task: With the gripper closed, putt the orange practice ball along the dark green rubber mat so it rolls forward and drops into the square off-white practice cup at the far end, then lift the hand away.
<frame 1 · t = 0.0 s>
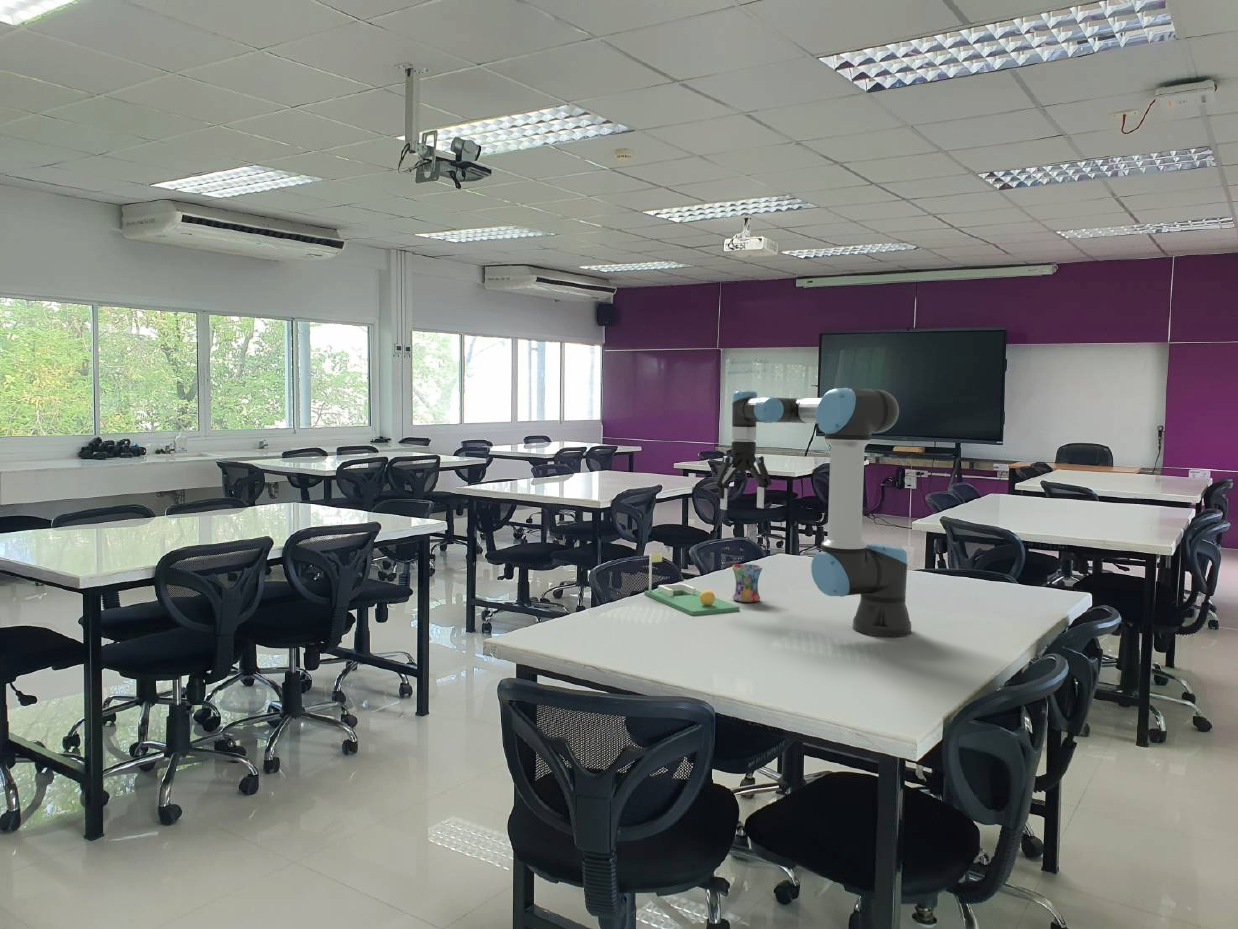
hand: (742, 508, 271), 28 cm above the table, fingers open, 13 cm apart
green: (690, 602, 264), on the table
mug: (748, 600, 269), on the table
ball: (707, 598, 254), point 3 cm above the table, touching green
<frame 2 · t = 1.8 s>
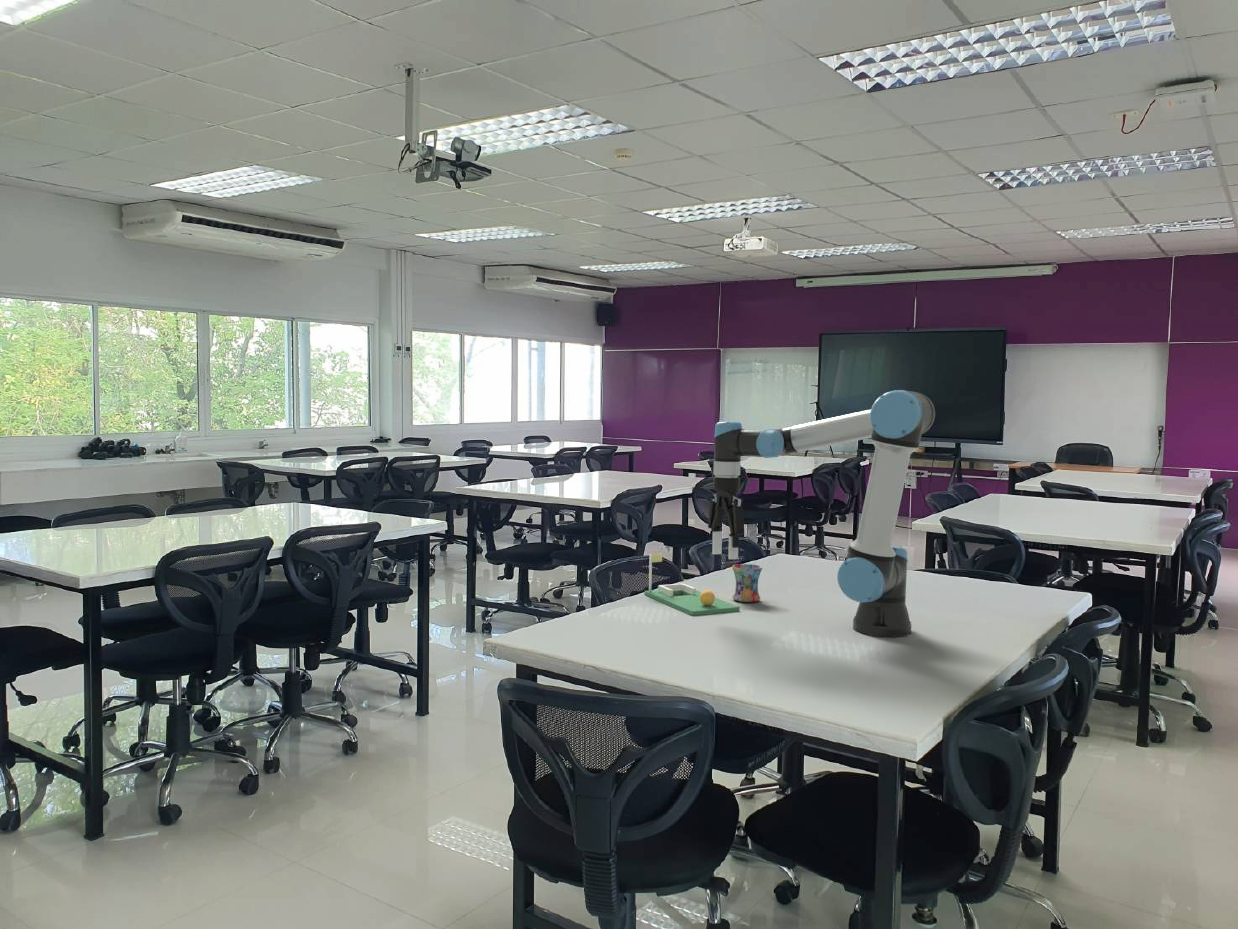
hand: (724, 556, 245), 17 cm above the table, fingers open, 8 cm apart
nothing on the table moved.
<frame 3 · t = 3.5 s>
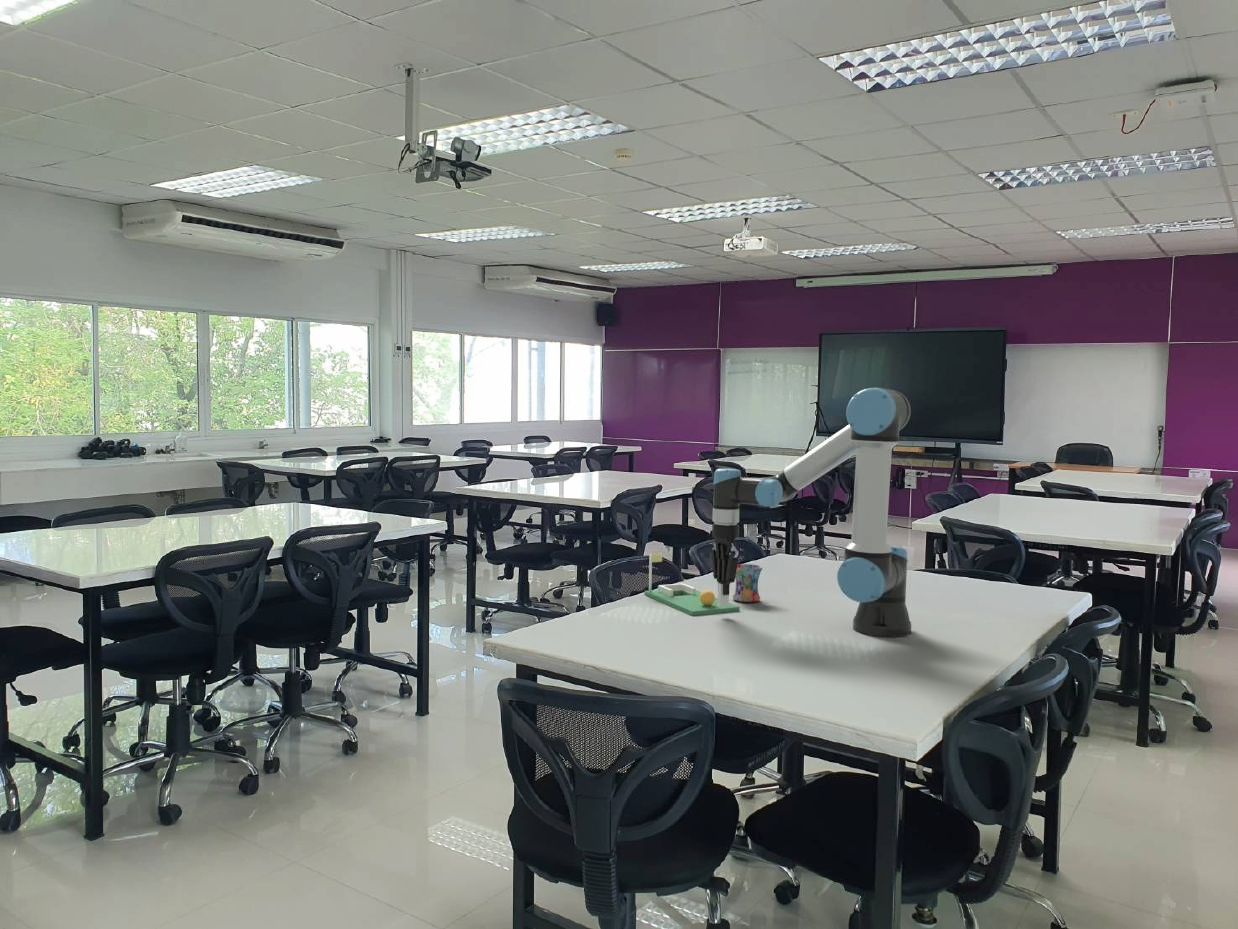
hand: (723, 605, 246), 3 cm above the table, fingers closed
nothing on the table moved.
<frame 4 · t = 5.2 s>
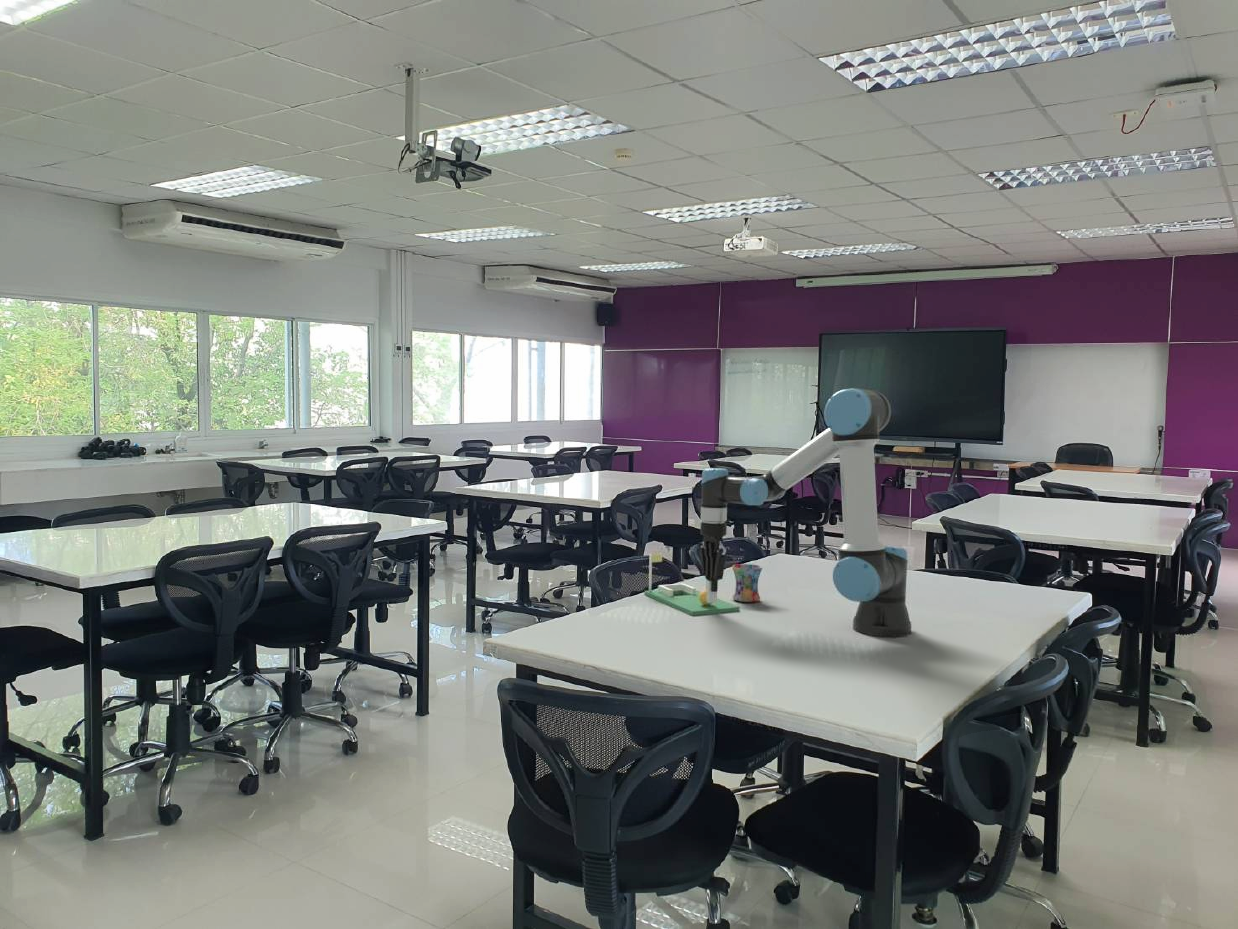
hand: (711, 602, 252), 3 cm above the table, fingers closed
ball: (706, 597, 255), point 3 cm above the table, tilted 7°, touching green
everything else where it was.
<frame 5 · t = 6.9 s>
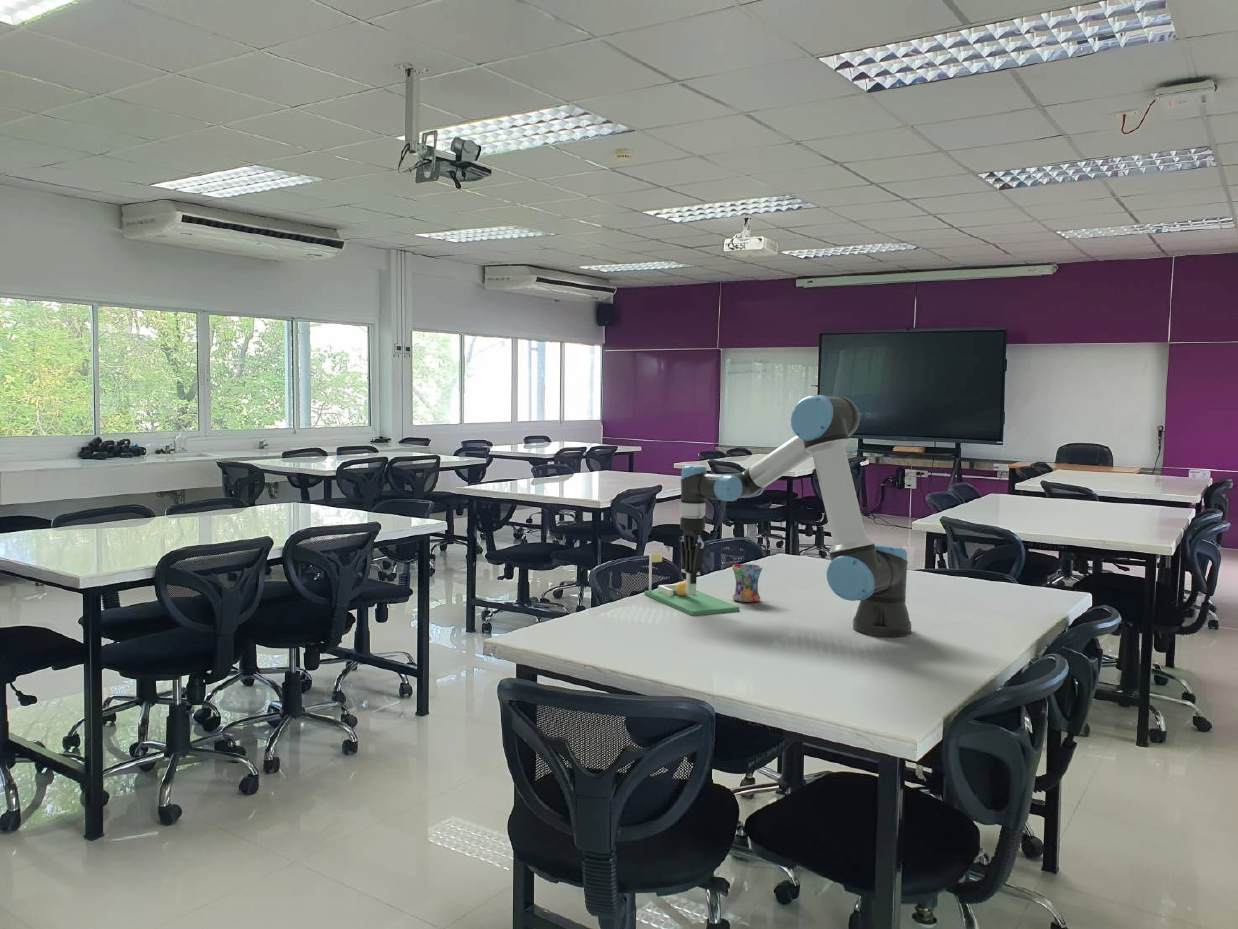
hand: (690, 593, 263), 3 cm above the table, fingers closed
ball: (683, 589, 267), point 3 cm above the table, tilted 10°, touching green
everything else where it was.
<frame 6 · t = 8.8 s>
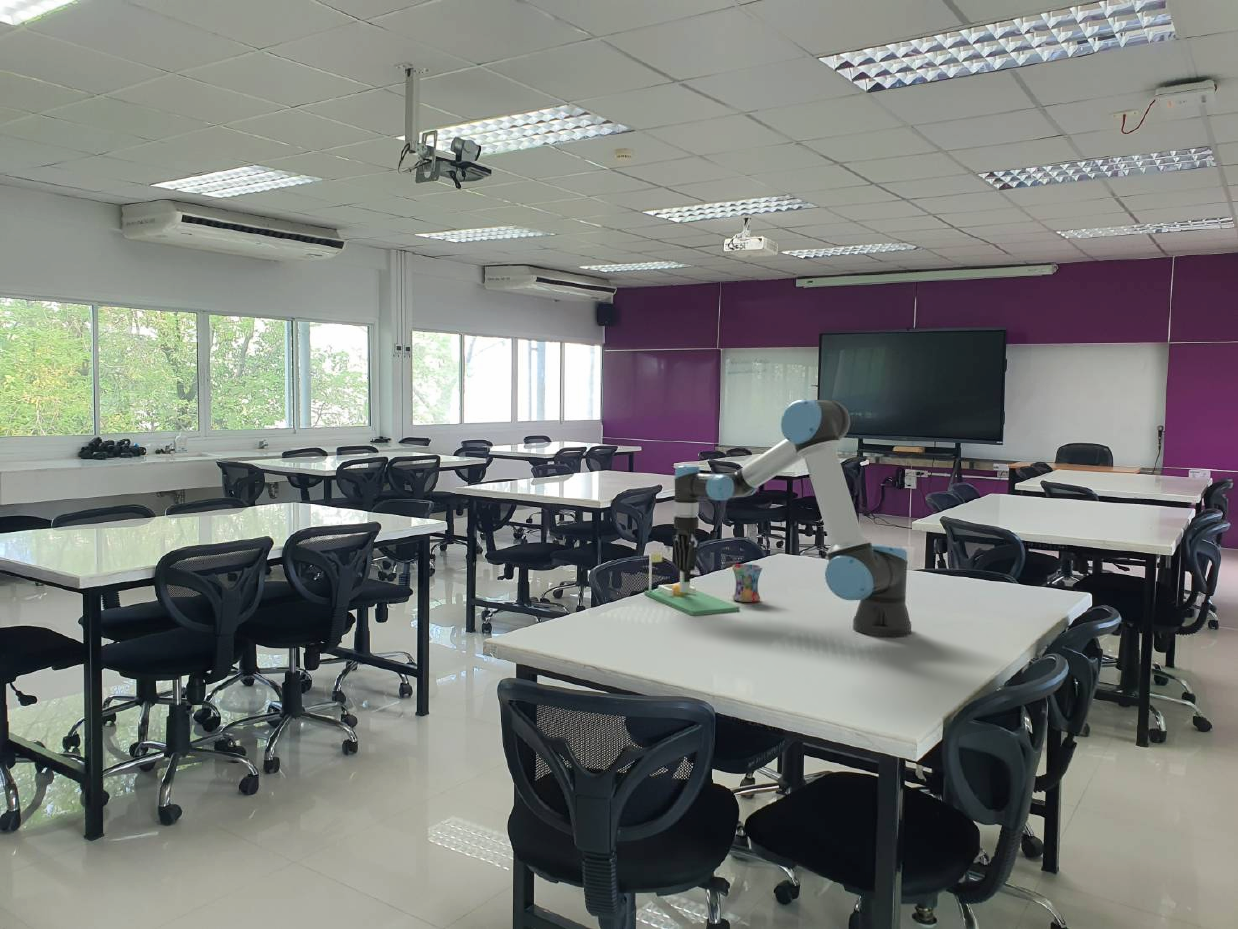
hand: (684, 591, 267), 3 cm above the table, fingers closed
ball: (678, 591, 269), point 2 cm above the table, tilted 74°
everything else where it was.
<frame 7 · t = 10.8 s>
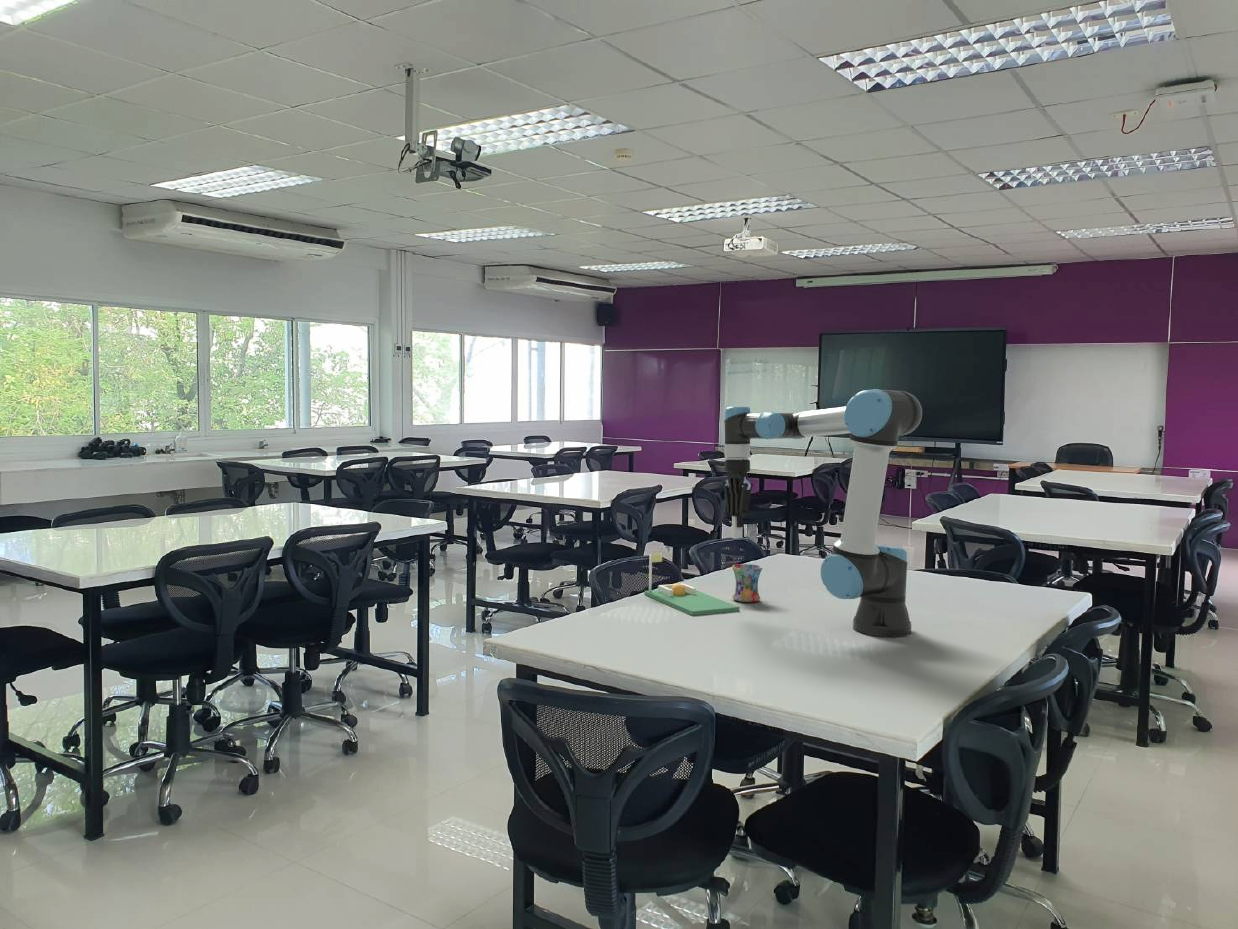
hand: (737, 538, 257), 21 cm above the table, fingers closed
nothing on the table moved.
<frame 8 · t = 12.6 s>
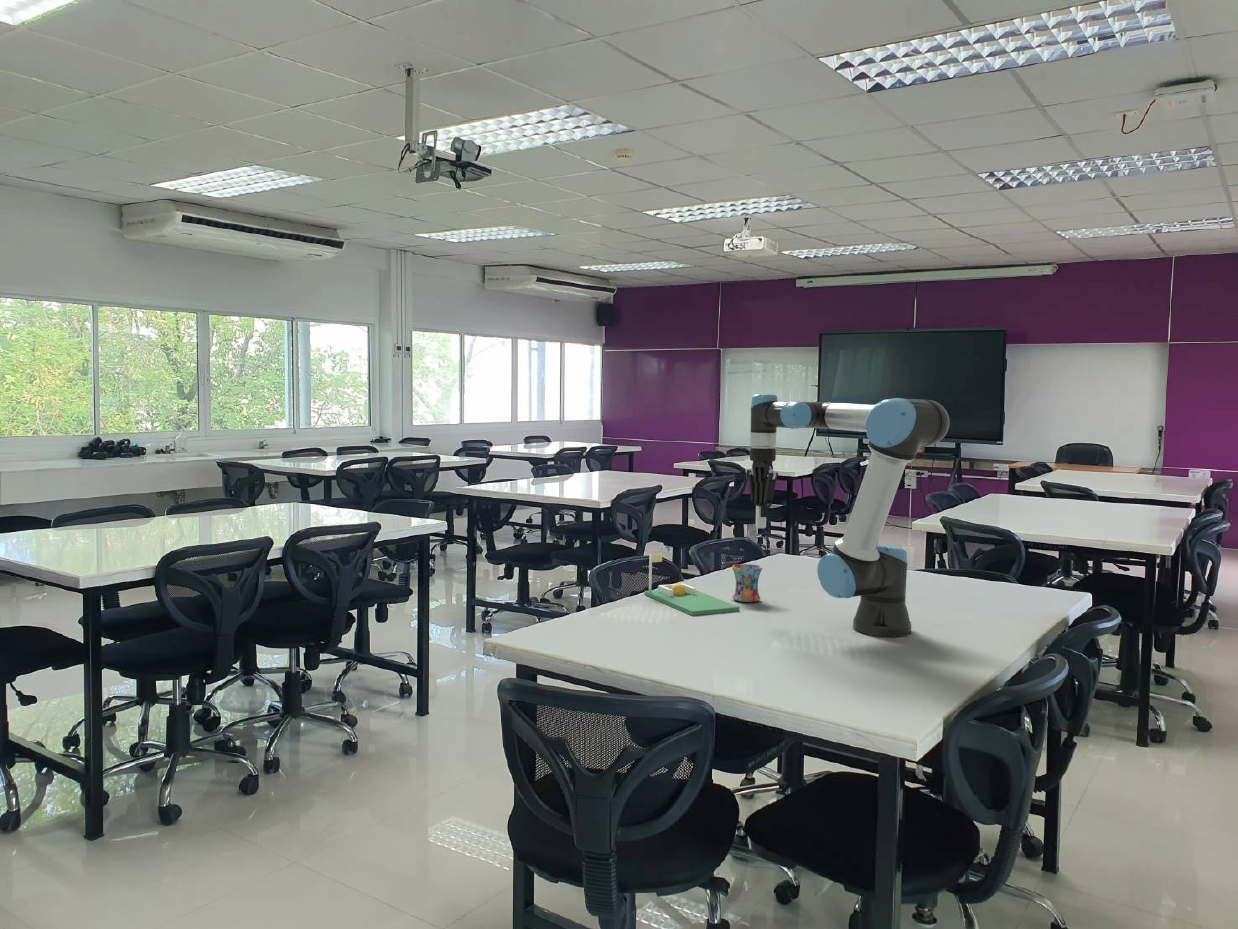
hand: (760, 527, 254), 24 cm above the table, fingers closed
nothing on the table moved.
at the end: ball inside the target area on the green (1.5 cm from its centre), point 2.2 cm above the green's base; the gripper is holding nothing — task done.
